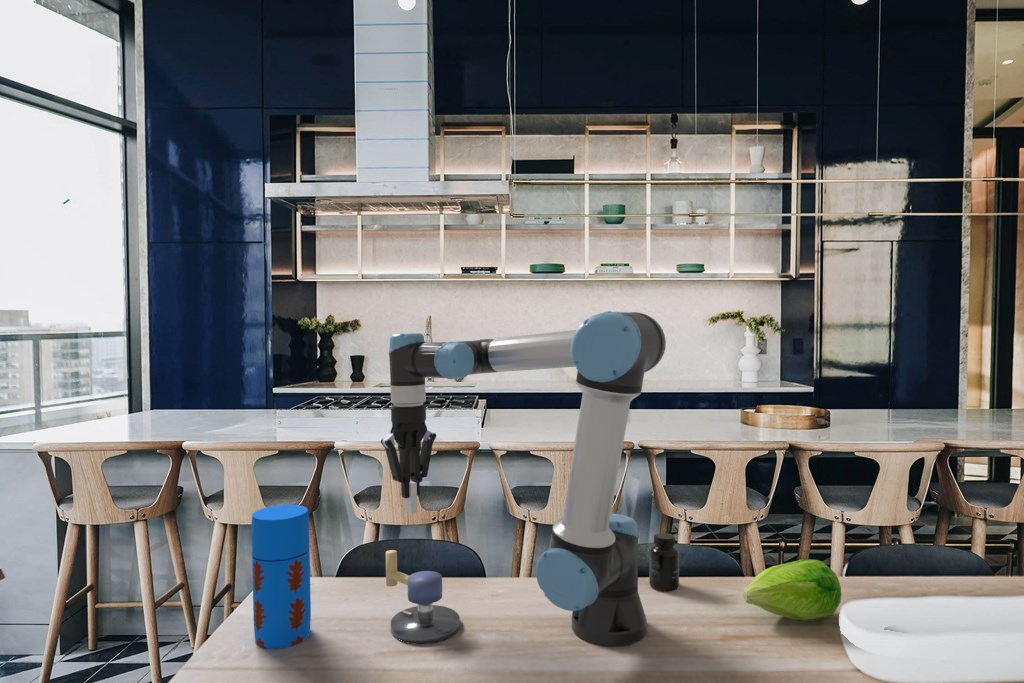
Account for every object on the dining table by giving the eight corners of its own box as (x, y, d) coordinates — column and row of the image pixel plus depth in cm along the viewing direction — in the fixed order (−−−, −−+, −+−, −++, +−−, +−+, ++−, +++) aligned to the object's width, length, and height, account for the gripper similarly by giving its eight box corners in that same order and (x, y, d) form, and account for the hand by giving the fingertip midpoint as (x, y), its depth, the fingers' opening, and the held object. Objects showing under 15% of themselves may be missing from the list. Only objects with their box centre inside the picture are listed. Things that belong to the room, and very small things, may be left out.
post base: (473, 623, 136) (473, 594, 136) (427, 651, 125) (426, 620, 125) (424, 606, 145) (423, 579, 144) (376, 631, 133) (375, 602, 133)
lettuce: (728, 607, 143) (728, 553, 142) (815, 602, 145) (815, 548, 145) (760, 638, 129) (760, 578, 129) (855, 631, 131) (856, 572, 131)
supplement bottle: (682, 592, 151) (682, 540, 150) (652, 592, 151) (652, 540, 150) (675, 580, 158) (675, 531, 157) (646, 580, 158) (646, 531, 157)
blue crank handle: (449, 597, 135) (449, 563, 135) (423, 609, 130) (422, 573, 129) (401, 577, 145) (400, 546, 145) (375, 587, 140) (374, 555, 140)
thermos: (274, 655, 124) (271, 523, 123) (242, 638, 131) (240, 514, 130) (322, 632, 133) (319, 510, 132) (290, 618, 139) (288, 501, 138)
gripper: (424, 400, 150) (426, 502, 151) (373, 405, 142) (376, 514, 142) (442, 402, 145) (445, 509, 145) (390, 408, 136) (393, 521, 137)
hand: (411, 511), depth 144 cm, fingers closed
